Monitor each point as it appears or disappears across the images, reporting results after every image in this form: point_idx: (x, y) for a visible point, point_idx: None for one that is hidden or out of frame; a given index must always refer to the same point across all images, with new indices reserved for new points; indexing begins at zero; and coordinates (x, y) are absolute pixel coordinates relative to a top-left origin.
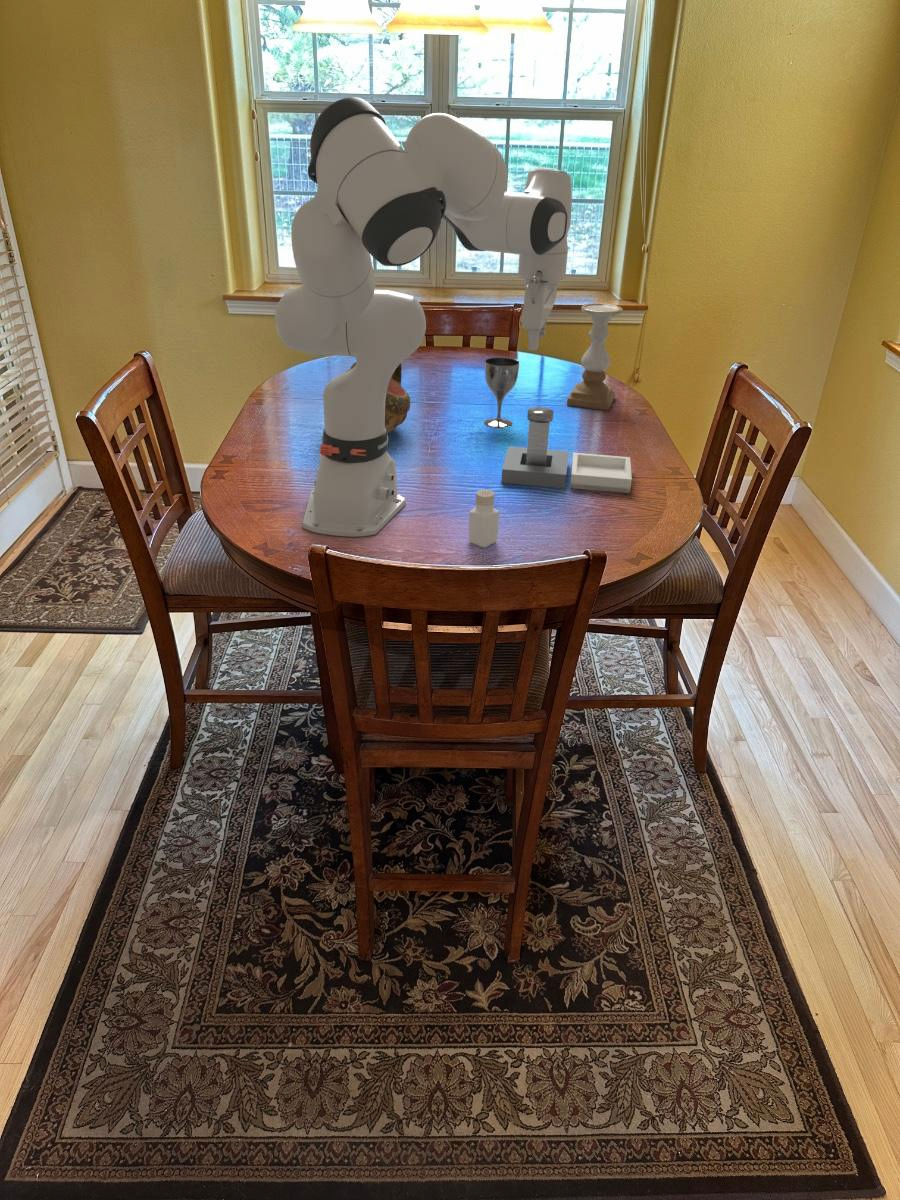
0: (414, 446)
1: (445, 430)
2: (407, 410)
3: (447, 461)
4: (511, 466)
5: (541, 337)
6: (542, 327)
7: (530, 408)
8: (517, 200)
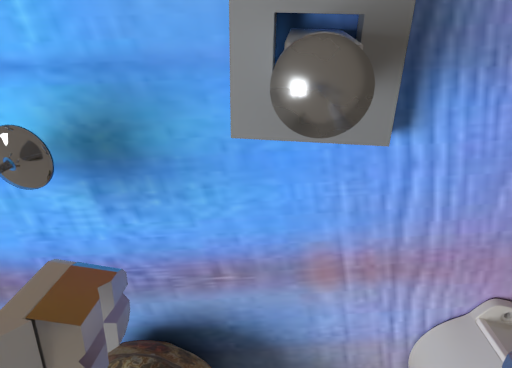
0: (212, 301)
1: (110, 257)
2: (158, 360)
3: (275, 245)
4: (368, 124)
5: (125, 278)
6: (32, 342)
7: (292, 129)
8: None
